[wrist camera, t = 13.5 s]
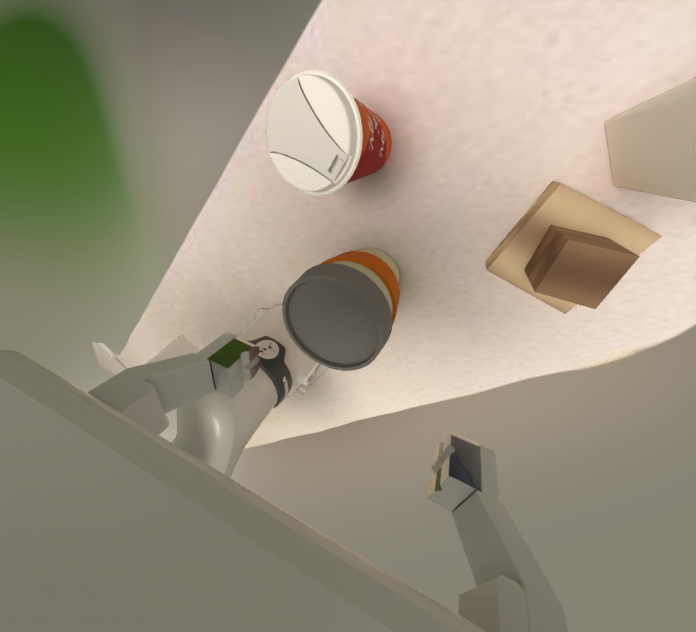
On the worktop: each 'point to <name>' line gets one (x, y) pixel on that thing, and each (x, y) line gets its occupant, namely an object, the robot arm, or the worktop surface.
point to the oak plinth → (565, 212)
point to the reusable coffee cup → (344, 308)
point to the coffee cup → (323, 134)
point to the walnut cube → (577, 266)
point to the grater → (176, 350)
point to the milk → (656, 145)
